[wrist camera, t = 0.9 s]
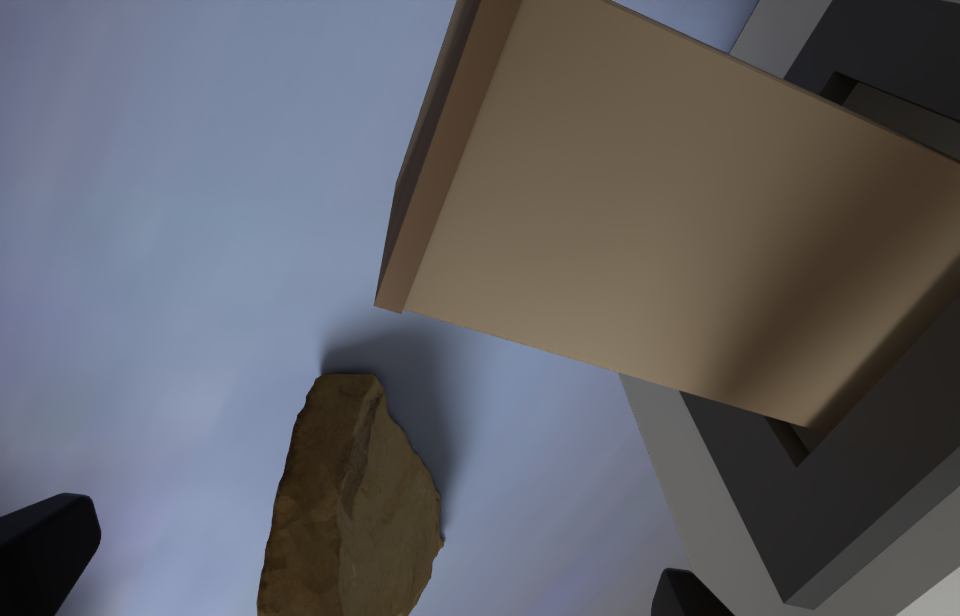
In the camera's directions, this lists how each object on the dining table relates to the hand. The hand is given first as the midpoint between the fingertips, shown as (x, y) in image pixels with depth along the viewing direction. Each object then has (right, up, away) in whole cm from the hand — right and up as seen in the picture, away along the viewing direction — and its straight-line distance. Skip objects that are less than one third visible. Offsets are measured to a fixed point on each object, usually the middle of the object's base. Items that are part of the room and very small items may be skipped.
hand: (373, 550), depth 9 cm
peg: (+6, +6, +3) cm, 10 cm away
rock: (-2, -3, +16) cm, 17 cm away
